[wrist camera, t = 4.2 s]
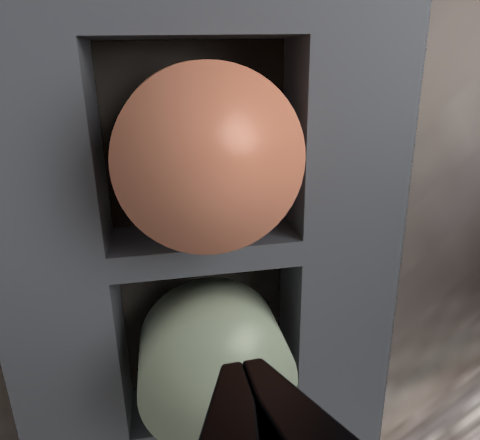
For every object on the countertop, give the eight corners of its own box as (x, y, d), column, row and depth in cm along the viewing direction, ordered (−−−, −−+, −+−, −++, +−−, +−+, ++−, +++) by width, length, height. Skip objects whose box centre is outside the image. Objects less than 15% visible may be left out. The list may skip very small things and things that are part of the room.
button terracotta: (278, 58, 15) (309, 57, 12) (276, 214, 17) (302, 246, 14) (108, 61, 14) (95, 60, 11) (126, 225, 16) (120, 263, 13)
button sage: (275, 270, 18) (300, 312, 15) (274, 384, 20) (295, 442, 17) (132, 284, 17) (128, 332, 14) (146, 402, 19) (144, 467, 16)
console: (386, 9, 17) (431, -2, 14) (344, 489, 25) (367, 541, 23) (-42, 8, 14) (-89, -5, 12) (71, 540, 23) (59, 607, 20)
